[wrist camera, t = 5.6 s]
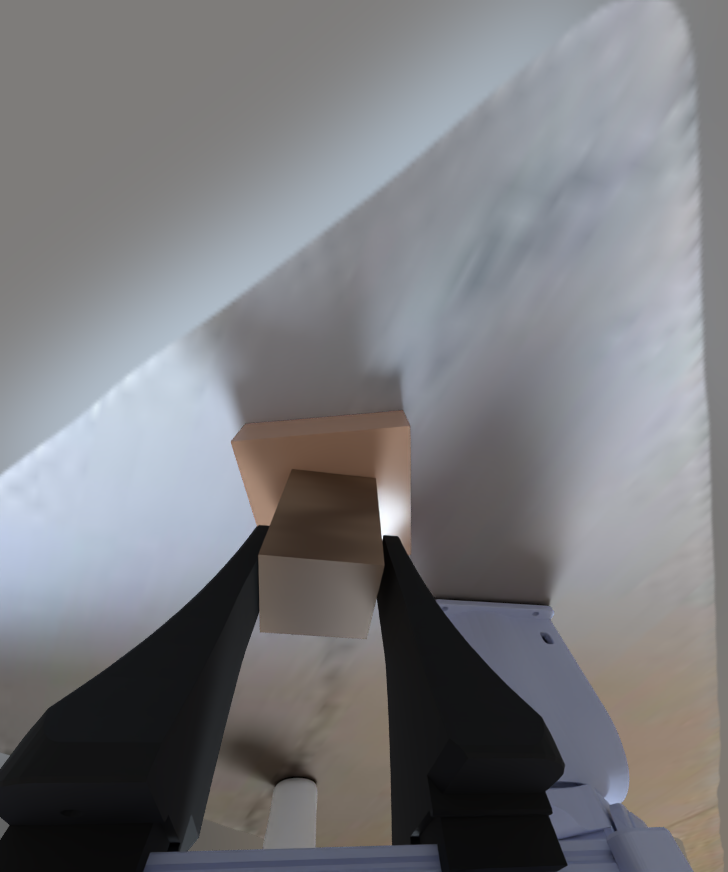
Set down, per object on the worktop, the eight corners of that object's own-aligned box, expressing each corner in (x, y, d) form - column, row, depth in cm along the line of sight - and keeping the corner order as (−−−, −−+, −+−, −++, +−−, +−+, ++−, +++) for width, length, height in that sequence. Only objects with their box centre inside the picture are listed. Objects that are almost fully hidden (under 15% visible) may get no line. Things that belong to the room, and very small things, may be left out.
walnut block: (376, 478, 14) (384, 565, 9) (364, 539, 15) (366, 639, 11) (291, 468, 13) (258, 554, 9) (289, 532, 15) (259, 631, 11)
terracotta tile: (401, 406, 15) (410, 425, 13) (403, 523, 19) (411, 554, 16) (248, 419, 15) (230, 441, 13) (279, 534, 18) (270, 567, 16)
